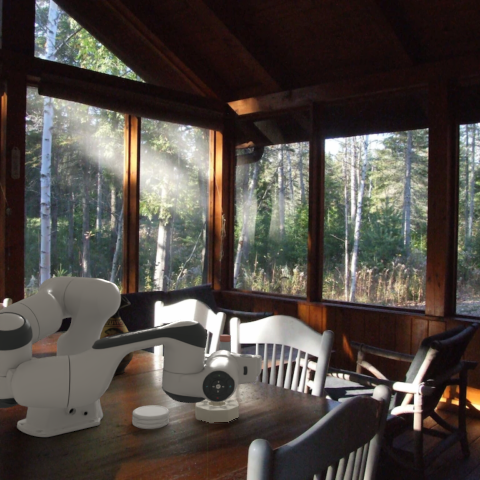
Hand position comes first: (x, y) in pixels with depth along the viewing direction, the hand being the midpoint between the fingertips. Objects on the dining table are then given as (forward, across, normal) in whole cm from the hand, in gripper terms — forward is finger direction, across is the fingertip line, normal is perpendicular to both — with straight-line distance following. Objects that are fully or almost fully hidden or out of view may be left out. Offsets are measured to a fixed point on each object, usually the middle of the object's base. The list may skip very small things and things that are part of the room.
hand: (225, 356), depth 146 cm
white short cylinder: (-2, -20, -18) cm, 27 cm away
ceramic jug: (+50, -45, -18) cm, 69 cm away
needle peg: (-1, 0, -8) cm, 8 cm away
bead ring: (+5, -2, -18) cm, 19 cm away
